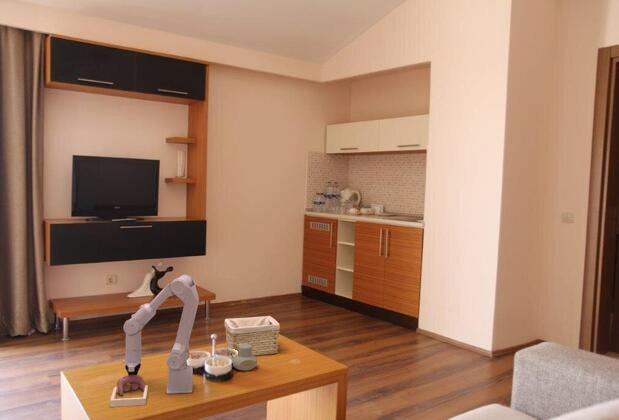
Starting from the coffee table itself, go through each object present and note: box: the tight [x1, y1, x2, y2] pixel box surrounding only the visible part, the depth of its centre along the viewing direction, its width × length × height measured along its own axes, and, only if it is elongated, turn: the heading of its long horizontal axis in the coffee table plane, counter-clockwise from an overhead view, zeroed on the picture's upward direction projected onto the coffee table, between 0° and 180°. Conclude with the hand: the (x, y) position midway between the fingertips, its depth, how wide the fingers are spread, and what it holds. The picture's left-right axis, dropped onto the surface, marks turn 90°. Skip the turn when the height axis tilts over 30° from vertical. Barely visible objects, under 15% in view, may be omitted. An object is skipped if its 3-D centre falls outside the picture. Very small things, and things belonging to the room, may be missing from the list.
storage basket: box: [224, 315, 281, 357], centre depth 249 cm, size 24×16×15 cm
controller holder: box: [109, 384, 149, 408], centre depth 192 cm, size 12×12×2 cm
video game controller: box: [116, 374, 146, 397], centre depth 199 cm, size 10×5×7 cm, turn 126°
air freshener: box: [231, 344, 258, 372], centre depth 227 cm, size 11×8×10 cm
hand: (132, 383), depth 203 cm, fingers closed
